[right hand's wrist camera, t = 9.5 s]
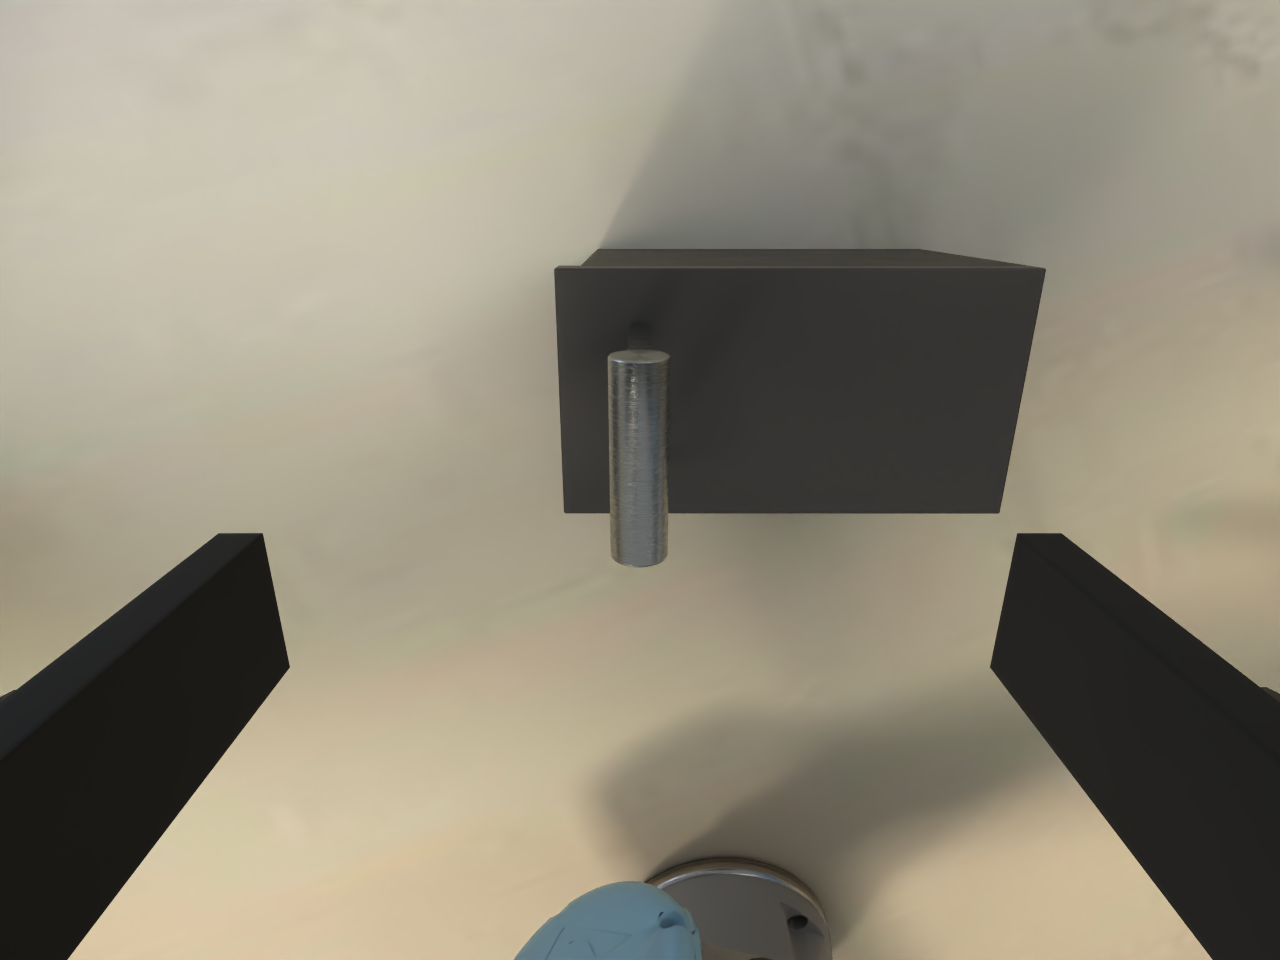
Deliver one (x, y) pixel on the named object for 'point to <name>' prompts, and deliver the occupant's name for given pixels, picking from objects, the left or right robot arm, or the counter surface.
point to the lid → (787, 390)
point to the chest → (782, 257)
